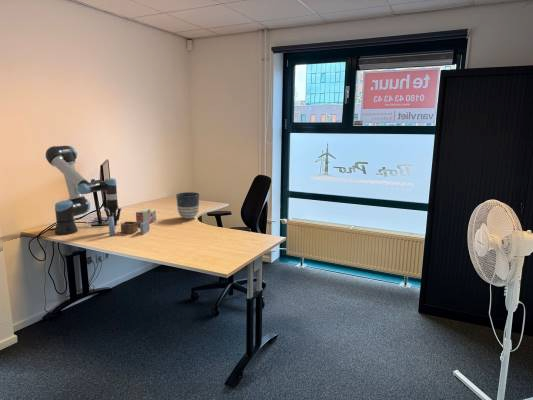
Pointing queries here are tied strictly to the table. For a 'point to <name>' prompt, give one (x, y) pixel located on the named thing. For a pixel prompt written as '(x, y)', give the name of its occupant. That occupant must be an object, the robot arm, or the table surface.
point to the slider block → (129, 227)
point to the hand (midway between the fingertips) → (114, 229)
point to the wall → (144, 227)
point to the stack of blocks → (145, 216)
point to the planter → (188, 204)
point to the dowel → (111, 226)
